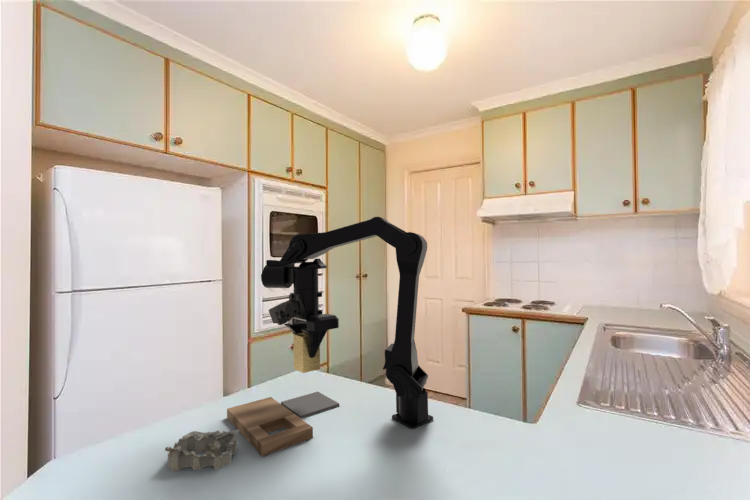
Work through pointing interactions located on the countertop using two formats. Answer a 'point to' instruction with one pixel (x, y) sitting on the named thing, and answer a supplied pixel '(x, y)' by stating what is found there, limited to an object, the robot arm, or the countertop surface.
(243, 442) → the countertop surface
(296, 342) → the brass plug
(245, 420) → the walnut board
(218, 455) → the egg carton
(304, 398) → the rubber mat
